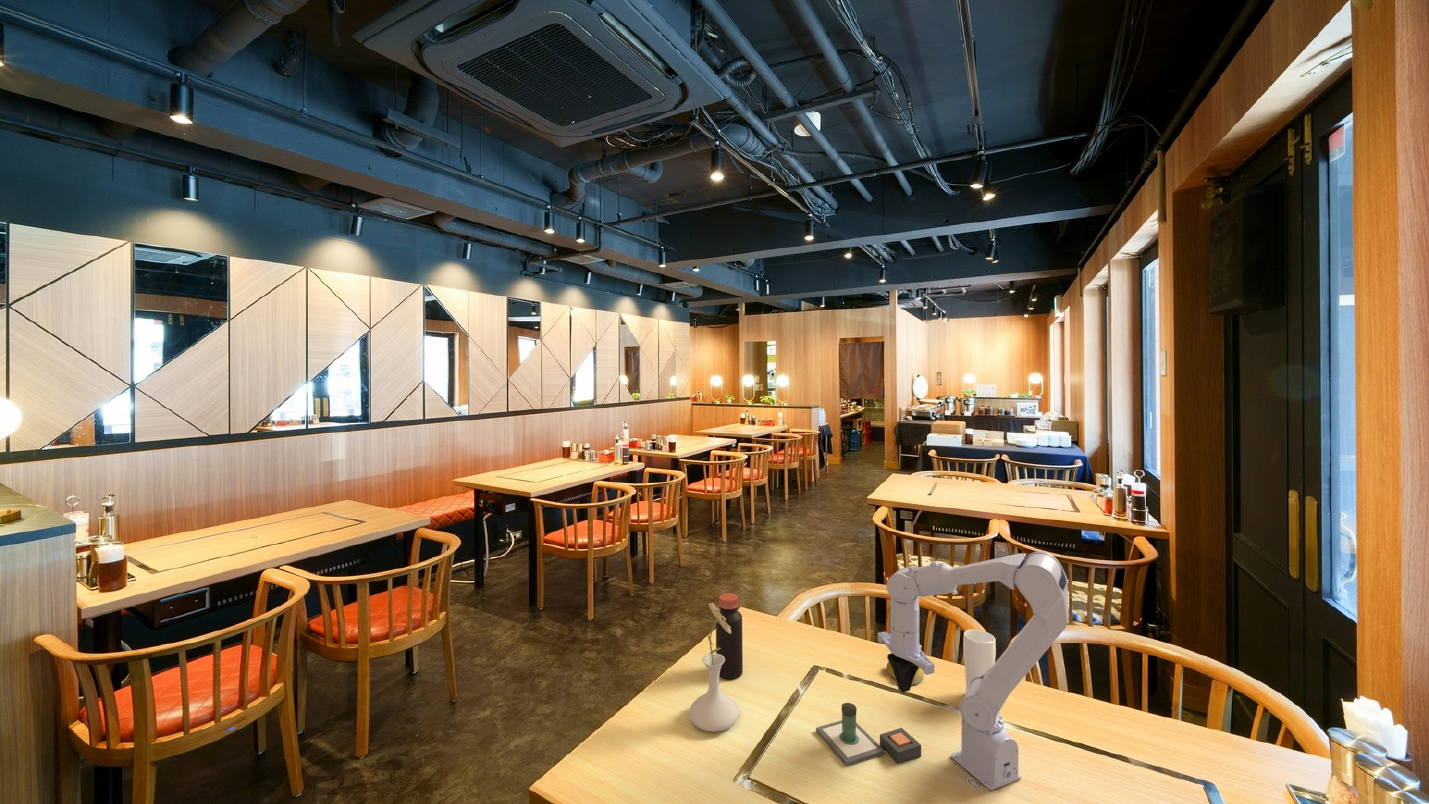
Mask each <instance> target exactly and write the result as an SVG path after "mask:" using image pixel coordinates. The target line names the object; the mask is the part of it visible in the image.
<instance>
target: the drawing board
mask: <svg viewBox="0 0 1429 804" xmlns="http://www.w3.org/2000/svg"><path fill="white" fill-rule="evenodd" d="M815 732H816V733H817V734H818V735H819V737H820V738H821V739H822V740H823V741H824V743H826V745H827V746H828V747H829V748H830V750H832V752H833V753H834V754H835V755H836V756H837V757H838V758H839V760H840V761H841V762H842V763H843V764H844V765H845V767H850V766H853V765H857V764H859V763H862V762H864V761H868V760H871V759H874V758H876V757H880V756H884V755H885V751H884V749H883V748H882V747H881V746H880V744H879V743H878V742H876V741H875V739H874V738H872V737H871V735H869V734H868V733H867V731H866V730H865V729H864V728H862V726H860V725H859V723H857V722H856V740H855V741H854V742H846V741H844V740H843V739H842V719H841V720H839V721H838V720H837V721H834V722H831V723H828V724H824V725H820V726H818V727H815Z"/></svg>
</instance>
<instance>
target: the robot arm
mask: <svg viewBox="0 0 1429 804" xmlns="http://www.w3.org/2000/svg"><path fill="white" fill-rule="evenodd" d="M1026 555H1027V553H1024V552H1023V553H1016V554H1012V555H1011V554H1010V555H1007V556H1001V557H997V558H992V559H988V560H983V561H978V562H973V563H969V564H965V565H964V564H963V565H960V566H956V567H953V566H951V565H949V564H948V563H946V562H941V563H939V561H938V560H933V561H931V562H930V563H929V565H925V566H918V567H915V565H911V566H909V567H901V568H900V569H898V570H897V571H896V572H894V573H893V574H892V575H891V576H890V577H889V578H888V579H887V582H886V591H887V593H888V595H889V596H890V606H889V607H890V613H889V614H890V617H889V618H890V622H889V623H890V624H889V625H890V628H889V630H890V631H889V633H888V632H886V631H882V632H878V633H877V642H878V643H880V644H884V645H885V646H886V647H887V649H888V650H889V651H890V653H889V654H887V655H886V658H887V660H888V662H890V664H891V666H892V668H893V671H894V674H895V678H896V680H895V681H896V685H897V686H896V687H897V690H898V691H900V692H901V693H906V692H910V691H911V688H912V686H913V685H912V682H913V679H914V676H915V674H916V672H917V670H918V669H919V668H921V669H922V670H923V673H924V674H925V675H926V676H928V675H932V674H935V663H934V661H933V662H932V660H930V659H929V657H927V655H926V654H925V653H924V651H922V648H923V646H922V645H921V644H920V598H924V597H930V596H938V595H945V594H950V593H954V592H955V591H956V590H957V587H958V586H962V585H970V584H972V585H973V584H980V583H990V582H991V583H992V582H1000V583H1002V585H1004V586H1006V587H1007V588H1009V589H1010V590H1013V591H1014V590H1015V588H1016V587H1017V589H1018V591H1019V592H1020V593H1021V595H1022V596H1023V597H1024V598H1025V600H1026V601H1027V602H1028V603H1029V605H1030V607H1031V609H1032V613H1033V615H1032V617H1031V618H1030V619H1029V620H1028V622H1027V623H1026V624H1025V626H1023V628H1022V629H1021V630H1020V631H1019V633H1018V634H1017V635H1016V637H1015V638H1014V639H1013V640H1012V642H1010V643H1009V645H1008V647H1006V649H1005V650H1003V653H1001V655H1000V657H998V658H997V660H995V664H994V665H993V666H992V667H991V668H990V669H988V670H987V672H986V673H985V674H983V675H981V676H977V677H975V678H974V679H973V680H972V681H971V683H970V687H969V689H968V691H967V693H965V695H964V696H963V698H962V699H961V700H960V702H959V706H958V708H959V714H960V716H961V744H960V745H961V747H960V748H961V750H958V751H955V752H953V753H951V754H950V757H951V758H952V759H953V760H954V761H955V762H957V764H959V765H960V766H961V767H962V768H964V769H965V770H966V771H967V772H968V773H970V774H971V776H973V777H974V778H975V779H976V780H977V781H979V783H981V784H983V785H984V786H985V787H986V788H987V789H988V790H990V791H994V790H996V789H998V788H1001V787H1003V786H1006V785H1008V784H1011V783H1013V782H1016V781H1019V780H1021V779H1022V775H1021V774H1020V773H1019V745H1018V743H1017V741H1016V740H1015V739H1014V738H1013V737H1012V736H1011V735H1010V734H1009V733H1008V731H1007V730H1006V727H1005V725H1004V720H1003V717H1002V715H1001V712H1000V711H1001V709H1002V708H1003V706H1004V704H1005V703H1006V701H1007V699H1008V698H1009V696H1010V695H1011V694H1012V692H1013V691H1014V690H1015V689H1016V688H1017V686H1018V685H1019V684H1020V683H1021V681H1022V680H1023V679H1024V678H1025V677H1026V675H1028V673H1029V672H1030V671H1031V670H1032V668H1034V666H1035V665H1036V663H1038V661H1039V660H1040V659H1041V658H1042V657H1043V656H1044V654H1045V653H1046V652H1047V651H1048V650H1049V648H1051V646H1052V645H1053V644H1054V642H1056V641H1057V639H1058V638H1059V637H1060V635H1061V634H1062V633H1063V632H1064V631H1065V630H1066V628H1067V626H1068V624H1069V620H1070V611H1069V597H1068V596H1069V595H1068V577H1067V574H1066V573H1065V571H1064V568H1063V566H1062V564H1061V563H1060V561H1059V560H1058V559H1057V558H1056V557H1055V556H1053V555H1052V554H1050V553H1047V552H1045V551H1044V552H1043V551H1034V552H1031V553H1029V554H1028V555H1027V556H1026Z"/></svg>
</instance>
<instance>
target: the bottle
mask: <svg viewBox="0 0 1429 804" xmlns="http://www.w3.org/2000/svg"><path fill="white" fill-rule="evenodd" d="M718 601H719V604H718V605H719V612H720V614H721V616H724V617H725V619H726V621H725V622H726V623H727V624H728V625H729V626H730V627H731V629H730V630H731V634H729V633H728V632H727V631H726V630H725V629H724V628H723V627H722V626H721V624H720V623H717V622H716V624H715V649H717V648H720V649H719V650H717V651H716V652H715V654H720V655H722V656H723V657H724V658H725V662H724V663H723V664H722V666H721V669H720V673H719V679H720V678H721V679H722V680H725V679H726V680H725V681H733V679H734V680H737V679H739V678H740V677H741V676H742V675H743V670H744V669H743V668H744V667H743V662H744V660H743V657H744V656H743V615H742V614H741V612H740V611H739V610H738V609H739V596H738V595H737V594H736V593H733V592H732V593H731V592H725V593H722V594H720V595H719V597H718Z"/></svg>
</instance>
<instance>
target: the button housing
mask: <svg viewBox="0 0 1429 804" xmlns="http://www.w3.org/2000/svg"><path fill="white" fill-rule="evenodd" d="M900 732H901V733H902V734H903V735H904V736H906V737H907V738H908V739H909V740H910V741H911V744H909V745H906V746H903V747H900V748H899V747H898V746H897V745H896V744H895V743H894V742H892V741H891V740H890V736H891V735H894V734H897V733H900ZM879 745H880V746H881V747H882V748H883V749H884V753H886V754H887V755H888V756H889V757H890V758H891V759H892V760H893V761H895V763H897V765H901V764H904V763H907V762H910V761H912V760H916V759H918V758H921V757H922V744H921V743H920V742H918V741H917V740H916V739H915V738H914V736H912V735H911V734H909V733H908V732H907V731H906V730H905V729H904V728H902V727H899V728H897V729H893V730H889V731H887V732H883V733H880V734H879Z"/></svg>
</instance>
